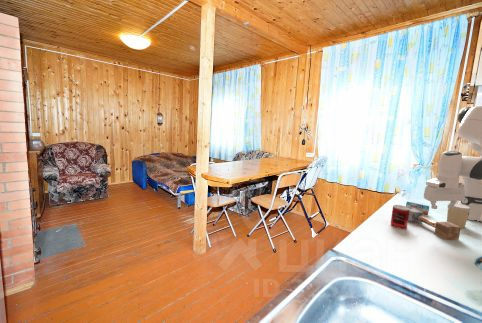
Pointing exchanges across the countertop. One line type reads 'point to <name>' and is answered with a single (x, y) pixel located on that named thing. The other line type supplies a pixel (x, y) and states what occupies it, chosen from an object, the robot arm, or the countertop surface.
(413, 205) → the blue thin box
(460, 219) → the coffee cup
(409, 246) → the countertop surface
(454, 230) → the socket
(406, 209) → the canned food
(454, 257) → the countertop surface
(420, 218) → the tube
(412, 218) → the sleeve
